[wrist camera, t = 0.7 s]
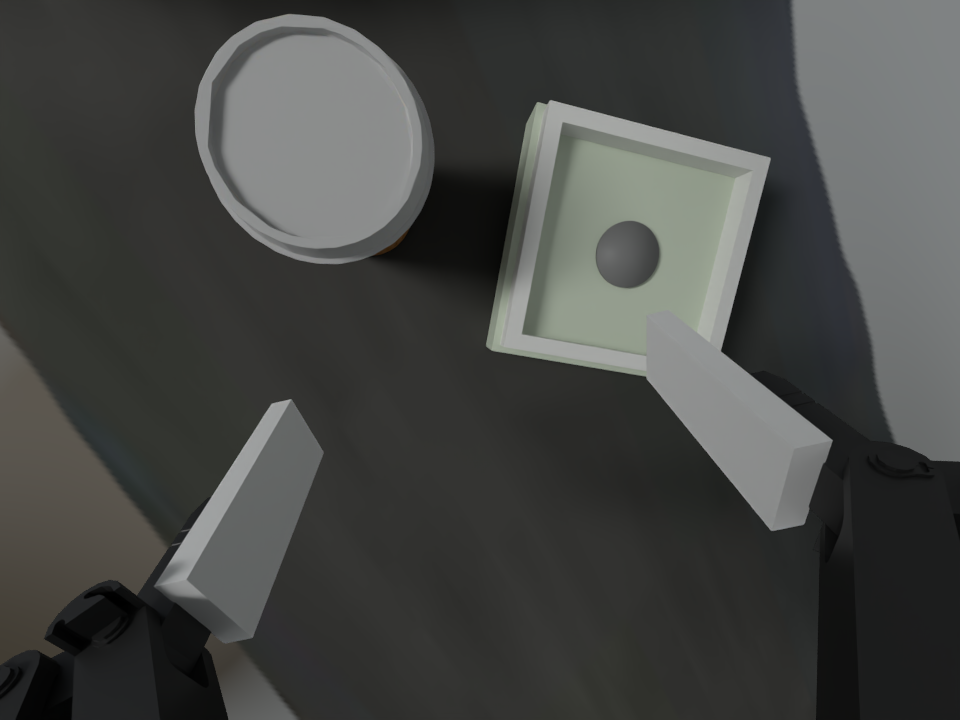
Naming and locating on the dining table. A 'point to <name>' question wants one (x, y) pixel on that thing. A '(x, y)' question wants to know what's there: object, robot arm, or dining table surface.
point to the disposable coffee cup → (314, 139)
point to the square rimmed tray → (619, 238)
